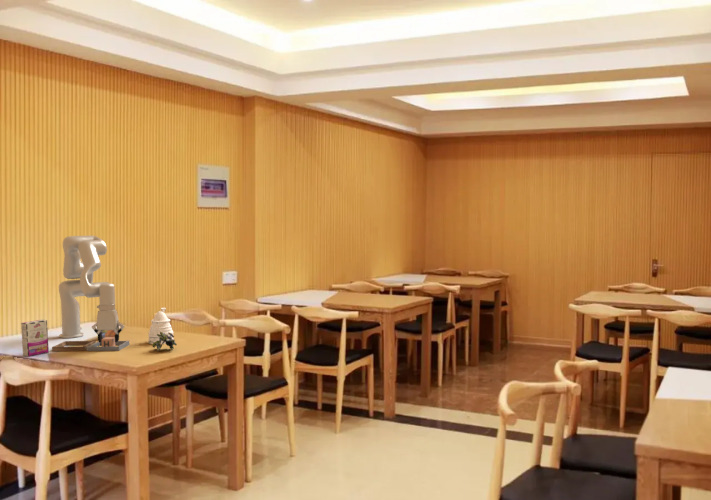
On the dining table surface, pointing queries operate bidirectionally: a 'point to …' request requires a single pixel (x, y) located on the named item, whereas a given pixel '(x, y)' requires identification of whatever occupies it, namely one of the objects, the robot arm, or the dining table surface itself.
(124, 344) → the grey frame
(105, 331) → the tin
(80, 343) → the walnut frame
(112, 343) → the letter cube
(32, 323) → the candy bar box
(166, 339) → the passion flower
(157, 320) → the honey pot
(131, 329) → the dining table surface
